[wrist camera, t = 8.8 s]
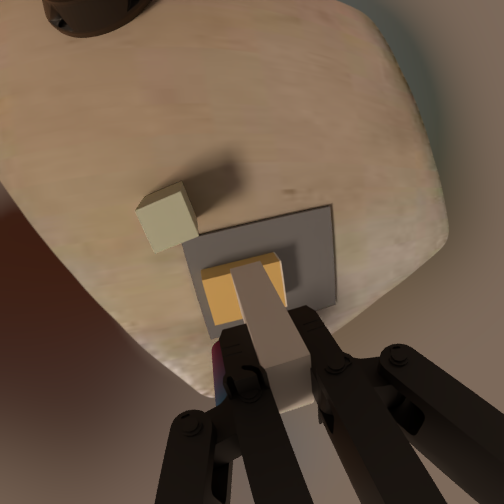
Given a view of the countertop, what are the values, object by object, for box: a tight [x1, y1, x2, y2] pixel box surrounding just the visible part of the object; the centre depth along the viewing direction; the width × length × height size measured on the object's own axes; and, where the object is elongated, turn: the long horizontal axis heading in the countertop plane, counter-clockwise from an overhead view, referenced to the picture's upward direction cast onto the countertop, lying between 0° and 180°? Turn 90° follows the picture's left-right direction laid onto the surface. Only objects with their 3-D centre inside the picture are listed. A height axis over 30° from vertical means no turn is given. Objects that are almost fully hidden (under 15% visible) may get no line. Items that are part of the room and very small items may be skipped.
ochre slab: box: [201, 252, 287, 326], centre depth 39 cm, size 7×3×10 cm
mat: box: [182, 206, 336, 339], centre depth 41 cm, size 16×20×1 cm
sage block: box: [135, 181, 199, 254], centre depth 32 cm, size 5×5×7 cm
